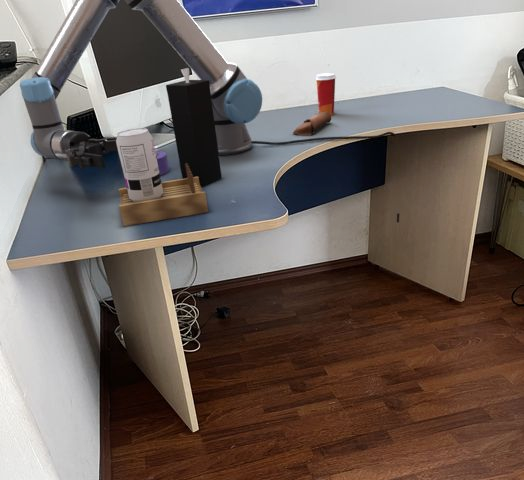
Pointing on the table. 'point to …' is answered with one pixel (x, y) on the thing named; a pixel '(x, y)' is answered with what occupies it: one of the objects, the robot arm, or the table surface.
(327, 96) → the paper cup
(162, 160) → the tape roll
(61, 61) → the robot arm
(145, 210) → the dish rack
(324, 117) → the sunglasses case
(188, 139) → the tissue box
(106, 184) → the table surface
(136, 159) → the supplement can
